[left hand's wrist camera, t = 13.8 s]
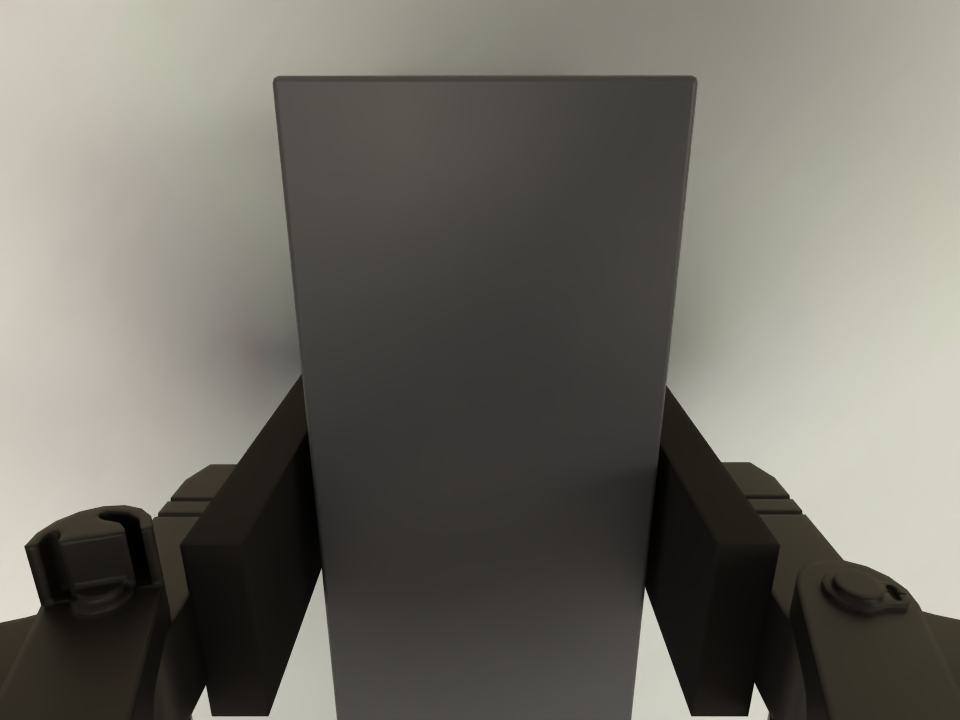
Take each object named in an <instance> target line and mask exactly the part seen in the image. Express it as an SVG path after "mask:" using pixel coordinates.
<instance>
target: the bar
mask: <svg viewBox="0 0 960 720" xmlns="http://www.w3.org/2000/svg"><path fill="white" fill-rule="evenodd" d="M697 84H698V82H697V78H696V77H694V76H277V77H275V78H274V80H273V91H274V101H275V111H276V121H277V131H278V141H279V151H280V160H281V170H282V180H283V190H284V200H285V210H286V220H287V230H288V239H289V249H290V259H291V269H292V279H293V289H294V299H295V308H296V318H297V328H298V338H299V348H300V358H301V368H302V378H303V387H304V397H305V407H306V417H307V427H308V437H309V447H310V456H311V466H312V476H313V486H314V496H315V506H316V516H317V525H318V535H319V545H320V555H321V565H322V575H323V585H324V595H325V604H326V614H327V624H328V634H329V644H330V654H331V664H332V673H333V683H334V693H335V703H336V713H337V720H631V715H632V706H633V696H634V687H635V677H636V667H637V658H638V648H639V639H640V629H641V620H642V610H643V601H644V591H645V581H646V572H647V562H648V553H649V543H650V534H651V524H652V514H653V505H654V495H655V486H656V476H657V467H658V457H659V447H660V438H661V428H662V419H663V409H664V400H665V390H666V380H667V371H668V361H669V352H670V342H671V333H672V323H673V313H674V304H675V294H676V285H677V275H678V266H679V256H680V247H681V237H682V227H683V218H684V208H685V199H686V189H687V180H688V170H689V160H690V151H691V141H692V132H693V122H694V113H695V103H696V93H697Z"/></svg>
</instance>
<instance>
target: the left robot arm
mask: <svg viewBox="0 0 960 720" xmlns="http://www.w3.org/2000/svg"><path fill="white" fill-rule="evenodd" d="M24 547H25V550H26V554H27V557H28V561H29V564H30V568H31V571H32V575H33V578H34V582H35V585H36V589H37V592H38V596H39V599H40V602H41V607H40V609H39V611H38V613H37V615H33V616H30V617H26V618H21V619H16V620H12V621H7V622H2V623H0V720H193V719H192V712H193V710H194V708H195V706H196V704H197V702H198V700H199V698H200V696H201V694H202V692H203V690H204V688H205V686H206V687H207V693H208V698H209V703H210V708H211V714H212V716H269V713H270V711H271V708H272V705H273V702H274V699H275V697H276V694H277V691H278V688H279V686H280V683H281V680H282V677H283V674H284V672H285V669H286V666H287V663H288V660H289V658H290V655H291V652H292V649H293V646H294V644H295V641H296V638H297V635H298V632H299V630H300V627H301V624H302V621H303V618H304V616H305V613H306V610H307V607H308V604H309V602H310V599H311V596H312V593H313V590H314V588H315V585H316V582H317V579H318V577H319V574H320V571H321V568H322V565H321V555H320V545H319V535H318V525H317V516H316V506H315V496H314V486H313V476H312V466H311V456H310V447H309V437H308V427H307V417H306V407H305V397H304V387H303V378H302V375H301V376H300V377H299V379H298V380H297V382H296V383H295V384H294V386H293V387H292V389H291V390H290V391H289V393H288V394H287V396H286V397H285V398H284V400H283V401H282V403H281V404H280V405H279V407H278V408H277V410H276V411H275V412H274V414H273V415H272V417H271V418H270V419H269V421H268V422H267V423H266V425H265V426H264V428H263V429H262V430H261V432H260V433H259V435H258V436H257V437H256V439H255V440H254V442H253V443H252V444H251V446H250V447H249V449H248V450H247V451H246V453H245V454H244V456H243V457H242V458H241V460H240V461H239V463H238V464H210V465H209V466H207V467H206V468H204V469H202V470H201V471H199V472H198V473H196V474H194V475H193V476H191V477H190V478H188V479H186V480H185V481H184V483H183V484H182V485H181V486H180V487H179V489H178V490H177V491H176V492H175V493H174V495H173V496H172V497H171V501H170V502H167V503H166V504H165V506H164V507H163V508H162V509H161V510H160V512H159V513H158V517H155V518H154V519H153V520H152V518H151V516H150V515H149V514H148V513H146V512H145V511H144V510H143V509H141V508H136V507H131V506H126V505H120V506H103V507H98V508H94V509H89V510H85V511H81V512H78V513H75V514H73V515H70V516H68V517H65V518H63V519H60V520H58V521H56V522H54V523H52V524H51V525H49V526H48V527H46V528H44V529H43V530H41V531H40V532H38V533H37V534H36V535H35V536H34V537H33V538H32V539H31V540H30V541H29V542H28V543H27V544H26V545H25V546H24ZM645 588H646V591H647V593H648V596H649V599H650V602H651V605H652V607H653V610H654V613H655V616H656V619H657V621H658V624H659V627H660V630H661V632H662V635H663V638H664V641H665V644H666V646H667V649H668V652H669V655H670V658H671V660H672V663H673V666H674V669H675V672H676V674H677V677H678V680H679V683H680V686H681V688H682V691H683V694H684V697H685V700H686V702H687V705H688V708H689V711H690V714H691V716H748V713H749V708H750V703H751V698H752V692H753V687H754V682H755V684H756V686H757V688H758V690H759V692H760V694H761V697H762V699H763V701H764V703H765V705H766V707H767V709H768V711H769V714H768V719H767V720H960V620H958V619H953V618H948V617H943V616H939V615H934V614H930V613H927V612H923V611H922V610H921V608H920V606H919V604H918V603H917V602H916V601H915V599H914V598H913V597H912V595H911V594H910V593H909V592H908V590H907V589H905V588H904V587H902V586H901V585H900V584H898V583H897V582H896V581H894V580H893V579H891V578H890V577H889V576H886V575H884V574H882V573H880V572H878V571H875V570H873V569H871V568H869V567H867V566H863V565H859V564H855V563H852V562H848V561H844V560H843V559H842V558H841V557H840V555H839V554H838V553H837V552H836V551H835V549H834V548H833V547H832V546H831V545H830V543H829V542H828V541H827V540H826V539H825V537H824V536H823V535H822V534H821V533H820V531H819V530H818V529H817V528H816V527H815V525H814V524H813V523H812V522H811V521H810V519H809V518H808V517H807V516H806V515H803V514H802V510H801V509H800V508H799V506H798V505H797V504H796V503H795V502H794V500H793V499H790V496H789V494H788V493H787V492H786V491H785V490H784V488H783V487H782V486H781V485H780V484H779V482H778V481H777V480H776V479H775V478H774V477H773V476H771V475H769V474H768V473H766V472H765V471H763V470H761V469H760V468H758V467H756V466H755V465H753V464H752V463H750V462H721V461H720V460H719V458H718V457H717V456H716V454H715V453H714V451H713V450H712V449H711V447H710V446H709V445H708V443H707V442H706V440H705V439H704V438H703V436H702V435H701V433H700V432H699V431H698V429H697V428H696V426H695V425H694V424H693V422H692V421H691V419H690V418H689V417H688V415H687V414H686V412H685V411H684V410H683V408H682V407H681V405H680V404H679V403H678V401H677V400H676V398H675V397H674V396H673V394H672V393H671V391H670V390H669V389H668V387H667V386H666V390H665V400H664V409H663V419H662V428H661V438H660V447H659V457H658V467H657V476H656V486H655V495H654V505H653V514H652V524H651V534H650V543H649V553H648V562H647V572H646V581H645Z"/></svg>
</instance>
